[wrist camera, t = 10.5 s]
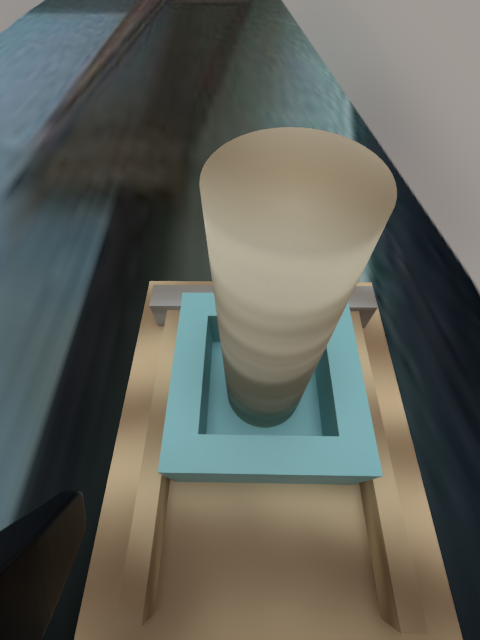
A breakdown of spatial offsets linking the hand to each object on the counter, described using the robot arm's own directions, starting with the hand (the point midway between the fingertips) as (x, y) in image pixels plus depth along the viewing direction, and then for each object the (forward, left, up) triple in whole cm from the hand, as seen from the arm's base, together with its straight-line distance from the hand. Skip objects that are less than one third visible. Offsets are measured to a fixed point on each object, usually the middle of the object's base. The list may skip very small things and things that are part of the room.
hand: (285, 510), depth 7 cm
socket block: (+6, 0, -10) cm, 12 cm away
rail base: (+4, 0, -11) cm, 12 cm away
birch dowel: (+6, 0, -9) cm, 11 cm away
